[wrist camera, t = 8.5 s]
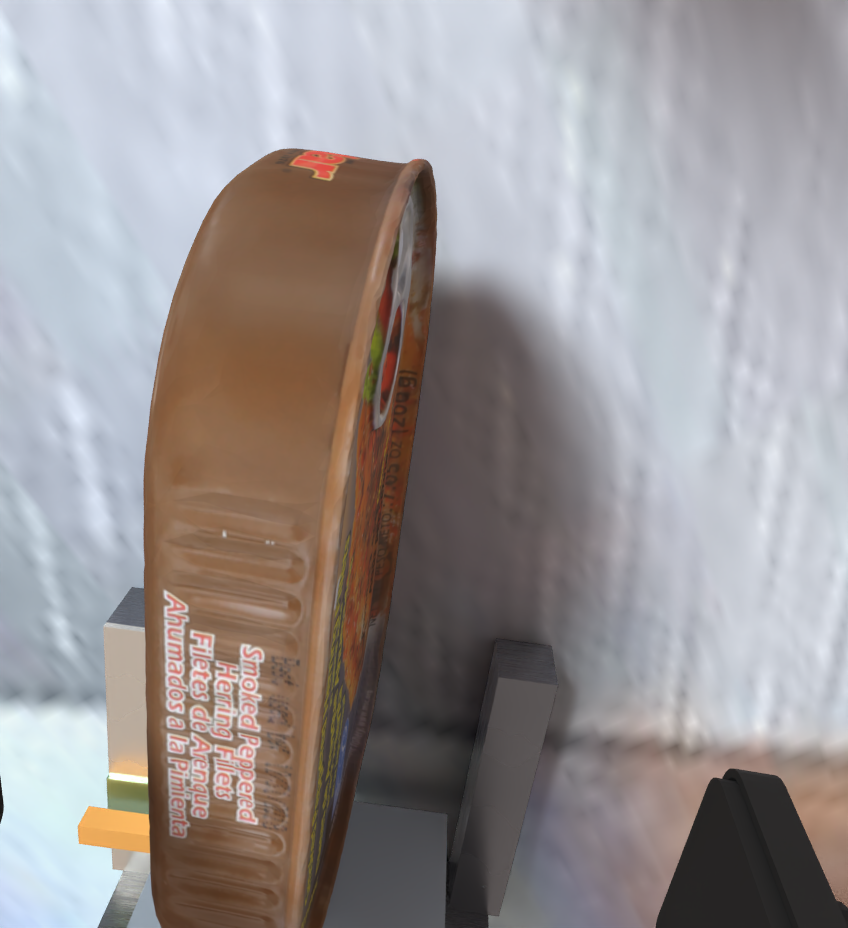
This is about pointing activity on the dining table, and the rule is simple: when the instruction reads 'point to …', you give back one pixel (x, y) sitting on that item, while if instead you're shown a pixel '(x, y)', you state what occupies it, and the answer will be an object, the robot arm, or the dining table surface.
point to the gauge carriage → (359, 874)
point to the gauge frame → (485, 795)
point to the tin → (277, 526)
